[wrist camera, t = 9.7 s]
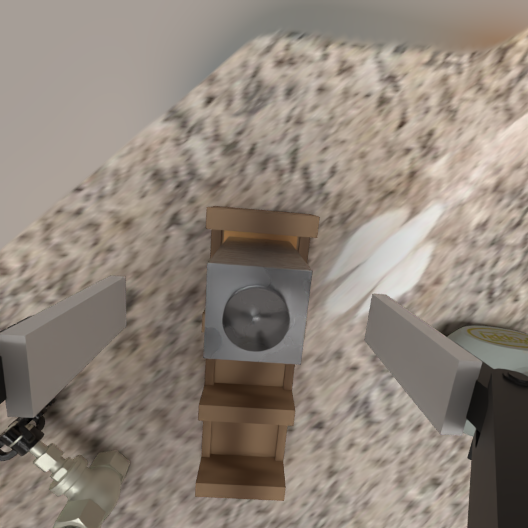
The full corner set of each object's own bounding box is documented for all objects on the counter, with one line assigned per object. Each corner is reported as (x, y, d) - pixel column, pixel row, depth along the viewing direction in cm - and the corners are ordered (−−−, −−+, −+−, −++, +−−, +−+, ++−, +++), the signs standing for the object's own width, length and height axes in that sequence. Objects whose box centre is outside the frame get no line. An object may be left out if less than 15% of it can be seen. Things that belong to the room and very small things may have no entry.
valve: (150, 459, 29) (62, 380, 27) (119, 532, 23) (2, 436, 21) (104, 492, 30) (16, 418, 28) (63, 571, 24) (-56, 483, 22)
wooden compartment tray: (203, 457, 29) (195, 496, 25) (215, 206, 24) (206, 207, 20) (280, 461, 30) (283, 500, 26) (309, 214, 24) (319, 217, 20)
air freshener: (403, 394, 28) (480, 497, 18) (421, 317, 26) (518, 386, 17) (509, 402, 29) (638, 507, 19) (534, 327, 27) (691, 399, 17)
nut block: (225, 294, 24) (201, 365, 14) (228, 236, 23) (205, 265, 13) (283, 298, 24) (302, 371, 14) (289, 241, 23) (314, 274, 13)
